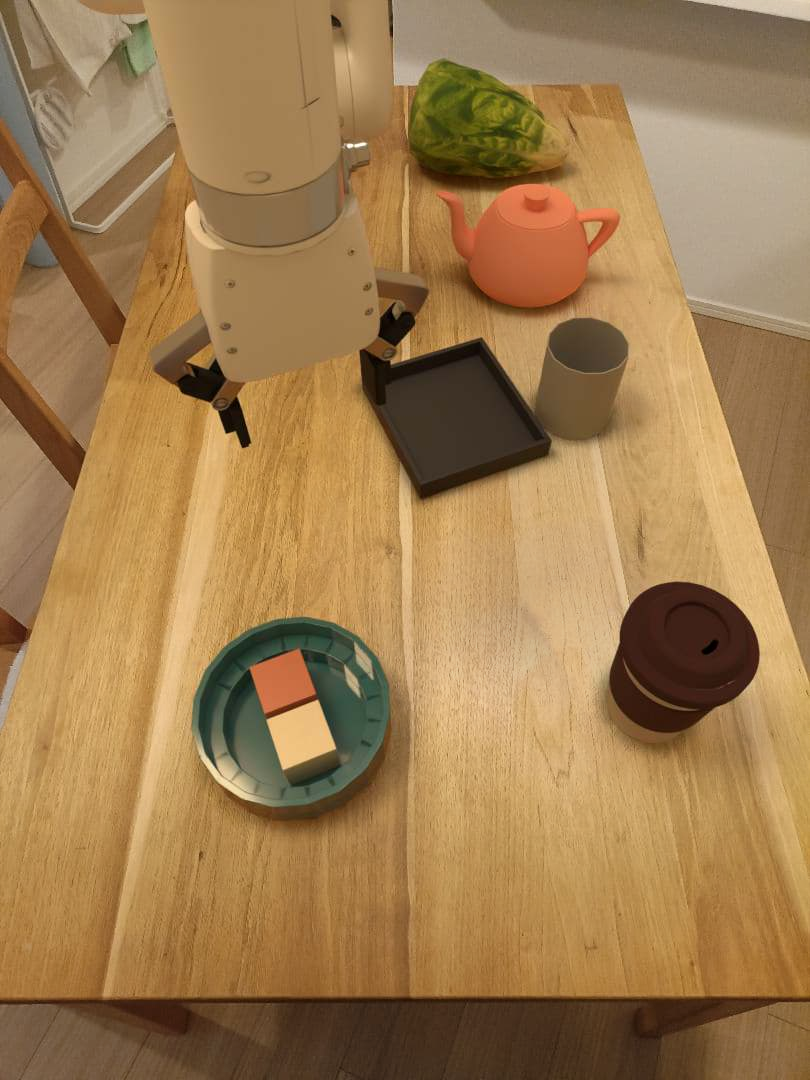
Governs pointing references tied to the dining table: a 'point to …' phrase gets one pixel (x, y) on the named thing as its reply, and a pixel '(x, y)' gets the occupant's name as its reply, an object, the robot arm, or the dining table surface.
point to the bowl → (243, 734)
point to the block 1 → (283, 683)
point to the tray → (457, 418)
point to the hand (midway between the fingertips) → (308, 411)
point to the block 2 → (303, 742)
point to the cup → (580, 377)
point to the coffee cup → (678, 660)
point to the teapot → (529, 244)
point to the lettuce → (479, 126)
